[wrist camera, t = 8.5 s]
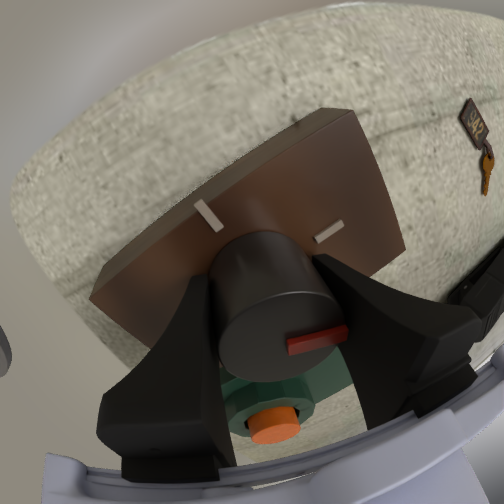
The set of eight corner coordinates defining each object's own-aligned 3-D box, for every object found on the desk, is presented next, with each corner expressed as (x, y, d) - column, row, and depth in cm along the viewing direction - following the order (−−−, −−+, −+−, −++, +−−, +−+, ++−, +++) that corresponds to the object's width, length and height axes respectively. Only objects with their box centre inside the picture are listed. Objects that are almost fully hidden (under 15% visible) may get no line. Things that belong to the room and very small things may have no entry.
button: (263, 429, 19) (267, 447, 18) (237, 418, 17) (241, 438, 16) (302, 412, 19) (308, 430, 17) (280, 399, 17) (287, 420, 15)
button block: (257, 410, 24) (265, 444, 20) (194, 373, 19) (197, 418, 16) (352, 359, 22) (370, 393, 19) (314, 304, 18) (338, 348, 14)
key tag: (457, 111, 13) (463, 112, 12) (474, 92, 12) (480, 93, 11) (483, 196, 16) (488, 199, 16) (498, 175, 16) (503, 177, 15)
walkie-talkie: (517, 275, 21) (406, 395, 22) (496, 233, 23) (379, 349, 23) (549, 267, 15) (430, 414, 16) (526, 219, 17) (400, 361, 17)
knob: (217, 322, 13) (229, 398, 9) (200, 240, 11) (204, 315, 7) (306, 304, 13) (340, 371, 10) (307, 223, 11) (359, 283, 8)
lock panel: (197, 346, 18) (200, 384, 15) (99, 261, 14) (82, 297, 11) (379, 230, 16) (409, 255, 13) (319, 101, 12) (352, 102, 9)
